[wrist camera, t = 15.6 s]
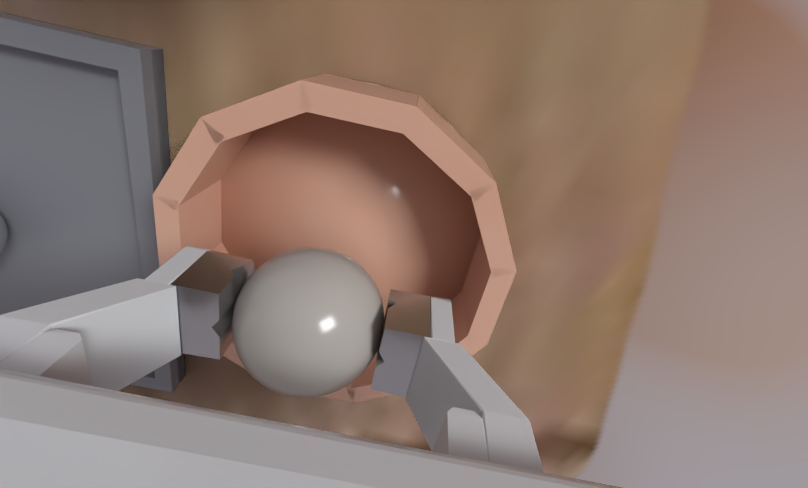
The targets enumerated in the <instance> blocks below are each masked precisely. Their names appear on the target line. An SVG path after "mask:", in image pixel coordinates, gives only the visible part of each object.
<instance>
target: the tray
mask: <svg viewBox="0 0 808 488" xmlns="http://www.w3.org/2000/svg"><path fill="white" fill-rule="evenodd" d="M170 166H171V164H170V150H169V135H168V121H167V107H166V93H165V79H164V65H163V51H162V49H159V48H154V47H150V46H146V45H141V44H137V43H133V42H128V41H124V40H119V39H115V38H111V37H106V36H102V35H98V34H93V33H89V32H85V31H80V30H76V29H72V28H67V27H63V26H58V25H54V24H50V23H45V22H41V21H37V20H32V19H28V18H24V17H19V16H15V15H11V14H6V13H2V12H0V214H1V216H2V217H3V219H4V221H5V223H6V226H7V230H8V239H7V243H6V246H5V248H4V250H3V251H2V253H1V254H0V315H2V314H6V313H9V312H13V311H17V310H21V309H24V308H28V307H32V306H35V305H39V304H43V303H47V302H50V301H54V300H58V299H62V298H65V297H69V296H73V295H76V294H80V293H84V292H88V291H91V290H95V289H99V288H103V287H106V286H110V285H114V284H118V283H121V282H125V281H129V280H132V279H136V278H139V279H146V278H147V277H148V276H149V275H151V274H152V273H153V272H154V271H156V270H157V269H158V268H159V258H158V247H157V237H156V227H155V216H154V206H153V193H154V192H155V190H156V189H157V187H158V185H159V184H160V182H161V180H162V179H163V177H164V176H165V174H166V172H167V171H168V169H169V167H170ZM184 376H185V362H184V353H181V355H180V356H179V357H177V358H175V359H173V360H172V361H170V362H168V363H166V364H165V365H163V366H161V367H159V368H158V369H156V370H154V371H152V372H151V373H149V374H147V375H145V376H144V377H142V378H140V379H138V380H136V381H135V382H133V383H131V384H129V385H134V386H139V387H144V388H150V389H155V390H160V391H166V392H171V393H173V391H174V390H175V388H176V387H177V386H178V384H179V383H180V382H181V380H182V379H183V378H184Z"/></svg>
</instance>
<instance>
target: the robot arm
mask: <svg viewBox="0 0 808 488" xmlns="http://www.w3.org/2000/svg"><path fill="white" fill-rule="evenodd" d="M253 273H254V263H253V261H252V259H248V258H243V257H239V256H235V255H230V254H226V253H222V252H217V251H213V250H209V249H204V248H199V247H194V246H186V247H184V248H183V249H182V250H181V251H179V252H178V253H177V254H176V255H174V256H173V257H172V258H171V259H169V260H168V261H167V262H166V263H164V264H163V265H162V266H161V267H159V268H158V269H157V270H156V271H154V272H153V273H152V274H151V275H149V276H148V277H147V278H146V279H139V278H136V279H132V280H129V281H125V282H121V283H118V284H114V285H110V286H106V287H103V288H99V289H95V290H91V291H88V292H84V293H80V294H76V295H73V296H69V297H65V298H62V299H58V300H54V301H50V302H47V303H43V304H39V305H35V306H32V307H28V308H24V309H21V310H17V311H13V312H9V313H6V314H2V315H0V488H621V487H616V486H611V485H606V484H601V483H595V482H590V481H585V480H580V479H575V478H569V477H564V476H559V475H554V474H548V473H544V472H543V469H542V465H541V461H540V457H539V454H538V450H537V446H536V443H535V439H534V435H533V431H532V428H531V424H530V421H529V419H528V418H527V417H526V416H525V415H524V414H523V413H522V412H521V411H520V409H519V408H518V407H517V406H516V405H515V404H514V403H513V402H512V401H511V399H510V398H509V397H508V396H507V395H506V394H505V393H504V392H503V391H502V389H501V388H500V387H499V386H498V385H497V384H496V383H495V382H494V380H493V379H492V378H491V377H490V376H489V375H488V374H487V373H486V372H485V370H484V369H483V368H482V367H481V366H480V365H479V364H478V363H477V362H476V360H475V359H474V358H473V357H472V356H471V355H470V354H469V353H468V352H467V350H466V349H465V348H464V347H463V346H462V345H461V344H458V343H455V337H454V326H453V315H452V304H451V301H450V300H449V299H444V298H438V297H432V296H425V295H420V294H415V293H409V292H404V291H399V290H393V289H390V293H389V297H388V302H387V307H386V312H385V317H384V326H383V330H382V336H381V342H380V346H379V348H378V351H377V353H376V354H377V357H376V361H375V365H374V371H373V377H372V383H371V390H376V391H380V392H385V393H389V394H393V395H398V396H402V397H406V401H407V403H408V405H409V407H410V409H411V411H412V413H413V415H414V417H415V419H416V421H417V423H418V425H419V427H420V429H421V431H422V432H423V434H424V436H425V438H426V440H427V442H428V444H429V446H430V448H431V450H432V451H427V450H422V449H417V448H412V447H406V446H401V445H396V444H391V443H386V442H381V441H376V440H370V439H365V438H360V437H355V436H350V435H345V434H339V433H334V432H329V431H324V430H319V429H314V428H309V427H303V426H298V425H293V424H288V423H283V422H277V421H272V420H267V419H262V418H256V417H251V416H246V415H241V414H235V413H230V412H225V411H220V410H214V409H209V408H204V407H199V406H193V405H188V404H183V403H178V402H172V401H167V400H162V399H157V398H152V397H146V396H141V395H136V394H131V393H125V392H120V391H119V390H121V389H122V388H124V387H126V386H128V385H129V384H131V383H133V382H135V381H136V380H138V379H140V378H142V377H144V376H145V375H147V374H149V373H151V372H152V371H154V370H156V369H158V368H159V367H161V366H163V365H165V364H166V363H168V362H170V361H172V360H173V359H175V358H177V357H179V356H180V355H181V353H184V354H190V355H196V356H201V357H207V358H213V359H219V360H220V359H221V357H222V356H223V354H224V353H225V351H226V350H227V348H228V347H229V345H230V344H231V342H232V341H233V335H232V317H233V310H234V306H235V303H236V300H237V297H238V295H239V293H240V291H241V289H242V287H243V286H244V284H245V282H246V281H247V280H248V278H249V277H250V276H251V275H252V274H253Z"/></svg>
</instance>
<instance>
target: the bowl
mask: <svg viewBox="0 0 808 488" xmlns="http://www.w3.org/2000/svg"><path fill="white" fill-rule="evenodd" d="M153 206H154V216H155V227H156V237H157V247H158V258H159V267H161V266H162V265H163V264H164V263H166V262H167V261H168V260H169V259H171V258H172V257H173V256H174V255H176V254H177V253H178V252H179V251H181V250H182V249H183V248H184V247H186V246H194V247H199V248H204V249H209V250H213V251H217V252H222V253H226V254H230V255H235V256H239V257H243V258H248V259H252V261H253V263H254V271H255V270H256V269H257V268H258V267H259V266H261V265H262V264H263V263H265V262H266V261H268V260H269V259H271V258H272V257H274V256H276V255H278V254H280V253H283V252H286V251H288V250H291V249H296V248H303V247H321V248H328V249H331V250H335V251H338V252H340V253H343V254H345V255H347V256H349V257H350V258H352V259H353V260H355V261H356V262H357V263H359V264H360V265H361V266H362V267H363V268H364V269H365V270H366V271H367V272H368V274H369V275H370V276H371V277H372V279H373V280H374V282H375V284H376V286H377V288H378V290H379V292H380V295H381V298H382V302H383V308H384V317H385V312H386V307H387V302H388V297H389V293H390V289H393V290H399V291H404V292H409V293H415V294H420V295H425V296H432V297H438V298H444V299H449V300H450V301H451V304H452V315H453V326H454V337H455V343H458V344H461V345H462V346H463V347H464V348H465V349H466V350H467V352H468V353H469V354H470V355H471V356H472V355H473V354H475V353H476V352H477V351H479V350H480V349H482V348H483V347H484V346H486V345H487V343H488V341H489V338H490V336H491V333H492V331H493V329H494V326H495V324H496V321H497V319H498V316H499V314H500V311H501V309H502V306H503V304H504V301H505V299H506V296H507V294H508V292H509V289H510V287H511V284H512V282H513V279H514V277H515V274H516V268H515V263H514V259H513V255H512V250H511V246H510V242H509V237H508V233H507V229H506V224H505V220H504V215H503V211H502V207H501V202H500V198H499V194H498V189H497V185H496V182H495V180H494V178H493V176H492V174H491V172H490V170H489V168H488V166H487V164H486V162H485V161H484V159H483V157H482V156H481V155H480V154H479V153H478V152H477V151H476V150H474V149H473V148H472V147H471V146H470V145H469V144H468V143H467V142H466V141H465V140H464V139H463V137H462V136H461V135H460V134H459V133H458V132H457V131H456V130H455V128H454V127H453V126H452V125H451V124H450V123H449V122H448V121H446V120H445V119H444V118H443V117H442V116H440V115H439V114H438V113H437V112H436V111H435V110H434V109H433V108H432V107H430V106H429V105H428V104H427V103H426V102H425V101H424V100H423V99H422V98H421V97H420V96H418V95H417V94H412V93H408V92H404V91H399V90H396V89H393V88H390V87H387V86H383V85H380V84H377V83H372V82H366V81H360V80H354V79H347V78H343V77H339V76H335V75H330V74H322V75H318V76H315V77H311V78H307V79H303V80H300V81H297V82H294V83H292V84H289V85H286V86H284V87H281V88H278V89H275V90H273V91H270V92H267V93H265V94H262V95H259V96H257V97H254V98H251V99H248V100H246V101H243V102H240V103H238V104H235V105H232V106H229V107H227V108H224V109H221V110H219V111H216V112H213V113H211V114H208V115H205V116H202V117H200V119H199V120H198V122H197V124H196V125H195V127H194V128H193V130H192V132H191V133H190V135H189V137H188V138H187V140H186V141H185V143H184V145H183V146H182V148H181V150H180V151H179V153H178V154H177V156H176V158H175V159H174V161H173V163H172V164H171V166H170V167H169V169H168V171H167V172H166V174H165V176H164V177H163V179H162V180H161V182H160V184H159V185H158V187H157V189H156V190H155V192H154V193H153ZM223 356H225V357H226V358H228V359H229V360H231V361H233V362H234V363H236V364H238V365H239V366H241V367H242V368H244V369H246V368H245V367H244V365H243V364H242V362H241V360H240V359H239V357H238V354H237V352H236V349H235V345H234V341H232V342H231V344H230V345H229V347H228V348H227V350H226V351H225V353H224V354H223ZM376 357H377V354H376V355H375V357H374V359H373V360H372V362H371V363H370V364H369V366H368V367H367V368H366V370H365V371H364V372H363V373H362V374H361V375H360V376H359V377H358V378H357V379H356V380H354V381H353V382H352V383H350V384H349V385H347V386H346V387H344V388H342V389H340V390H338V391H336V392H333V393H331V394H328V395H324V396H320V397H324V398H330V399H335V400H340V401H345V402H351V403H355V402H361V401H366V400H371V399H376V398H381V397H387V396H392V395H393V394H389V393H385V392H380V391H376V390H371V383H372V377H373V371H374V365H375V361H376Z"/></svg>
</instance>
